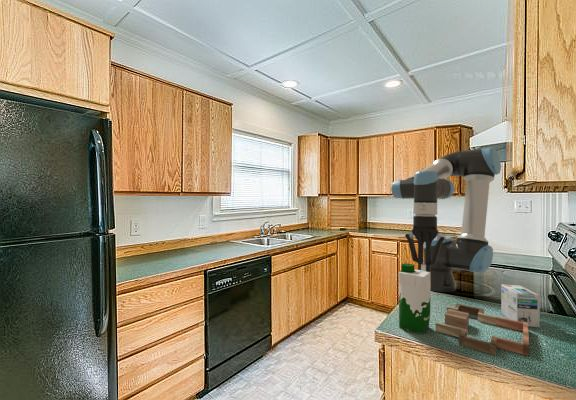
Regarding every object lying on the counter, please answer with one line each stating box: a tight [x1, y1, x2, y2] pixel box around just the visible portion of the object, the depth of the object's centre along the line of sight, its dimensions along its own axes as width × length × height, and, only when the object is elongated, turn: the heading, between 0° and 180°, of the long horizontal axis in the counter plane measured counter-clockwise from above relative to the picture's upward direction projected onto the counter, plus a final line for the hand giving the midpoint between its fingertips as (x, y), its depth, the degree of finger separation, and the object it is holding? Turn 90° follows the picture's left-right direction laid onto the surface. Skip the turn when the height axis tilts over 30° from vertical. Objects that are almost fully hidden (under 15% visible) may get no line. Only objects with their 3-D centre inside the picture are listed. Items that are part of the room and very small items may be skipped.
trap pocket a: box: [454, 303, 485, 321], centre depth 104 cm, size 5×8×2 cm, turn 51°
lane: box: [434, 305, 530, 357], centre depth 92 cm, size 18×23×2 cm
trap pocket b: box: [458, 330, 498, 356], centre depth 82 cm, size 5×8×2 cm, turn 51°
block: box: [444, 309, 470, 330], centre depth 96 cm, size 6×6×4 cm
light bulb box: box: [500, 283, 541, 328], centre depth 100 cm, size 11×7×11 cm, turn 168°
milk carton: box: [397, 263, 432, 335], centre depth 94 cm, size 9×9×20 cm
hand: (424, 282), depth 102 cm, fingers closed
